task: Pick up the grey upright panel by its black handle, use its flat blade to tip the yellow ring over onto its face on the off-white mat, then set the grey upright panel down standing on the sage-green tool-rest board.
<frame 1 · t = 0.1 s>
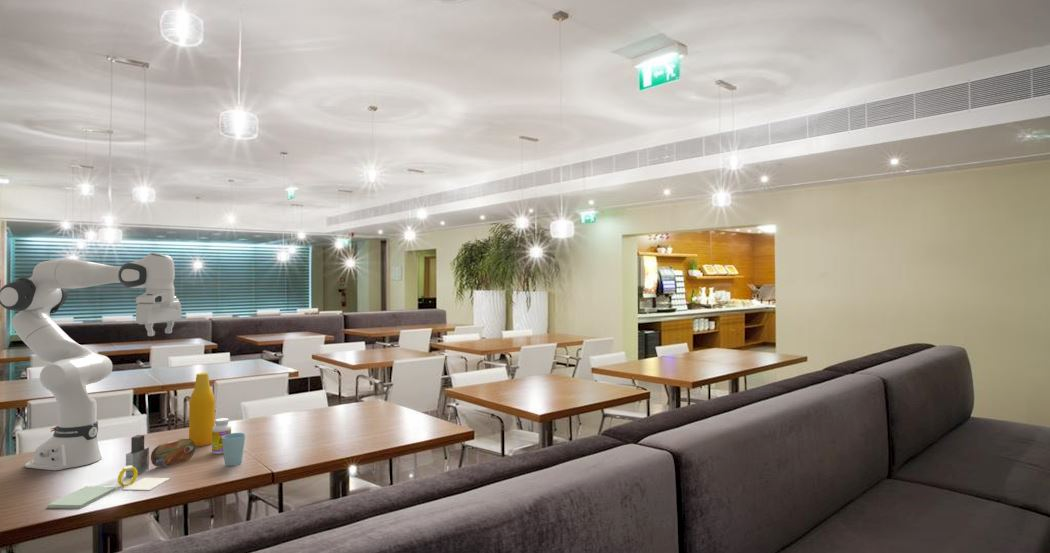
hand: (160, 334, 202), 48 cm above the table, tool pointing down, fingers open, 8 cm apart
tin: (173, 464, 202), on the table
yellow bottle: (201, 443, 226), on the table
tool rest: (83, 498, 170), on the table
grey upright panel: (137, 473, 192), on the table
supplement bottle: (221, 452, 216), on the table
cup: (233, 464, 203), on the table
face down mat: (146, 484, 182), on the table
yellow ring: (127, 484, 182), on the table
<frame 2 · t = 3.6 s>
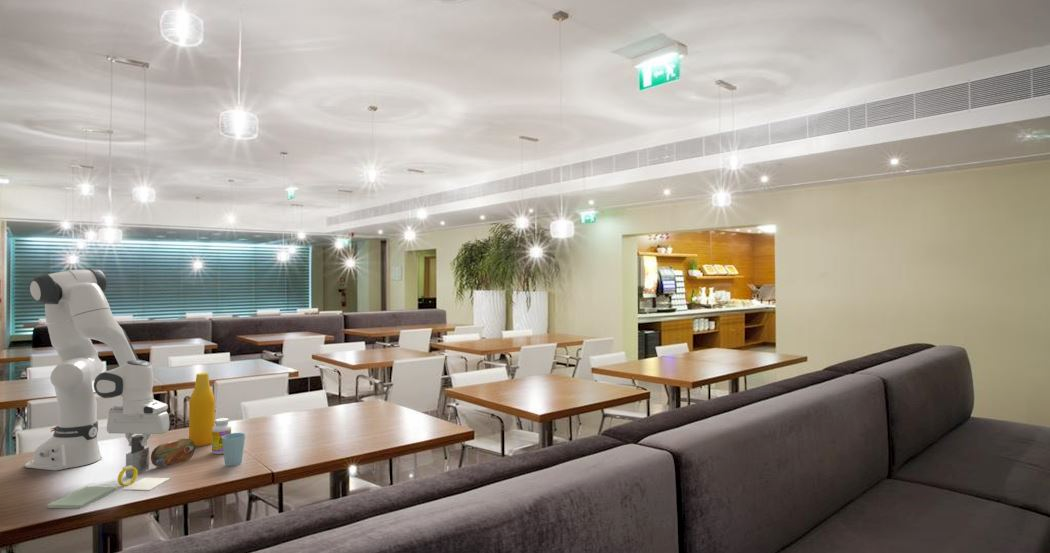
hand: (137, 445, 192), 10 cm above the table, tool pointing down, fingers closed on grey upright panel, 2 cm apart
grey upright panel: (137, 473, 192), on the table, touching gripper
everything else where it was.
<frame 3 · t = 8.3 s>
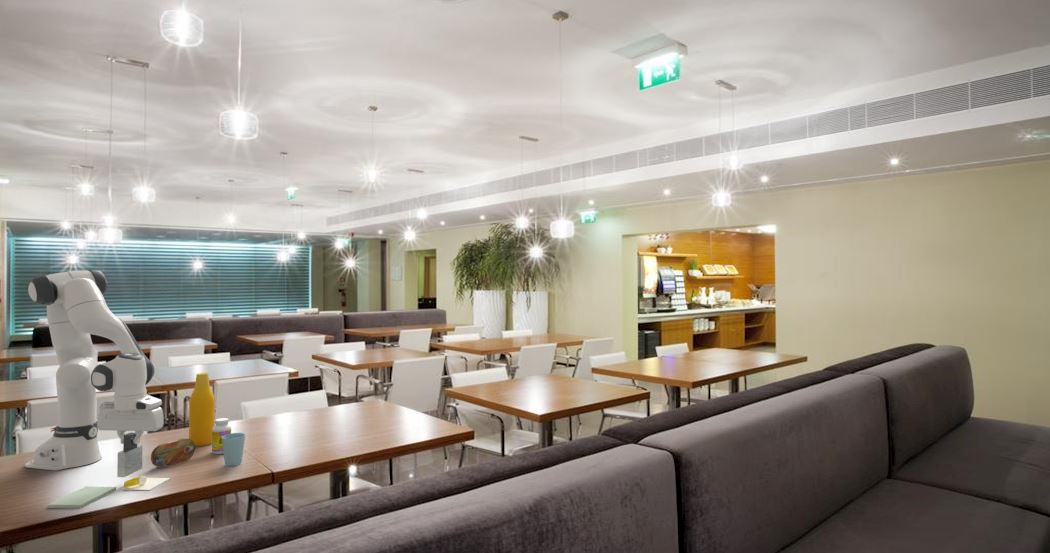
hand: (130, 443, 182), 14 cm above the table, tool pointing down, fingers closed on grey upright panel, 2 cm apart
grey upright panel: (130, 472, 182), point 4 cm above the table, touching gripper
yellow ring: (128, 482, 182), point 1 cm above the table, touching face down mat
everything else where it was.
when the fingers open (12 cm above the table, at t = 13.6 s): grey upright panel stays where it is, resting on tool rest.
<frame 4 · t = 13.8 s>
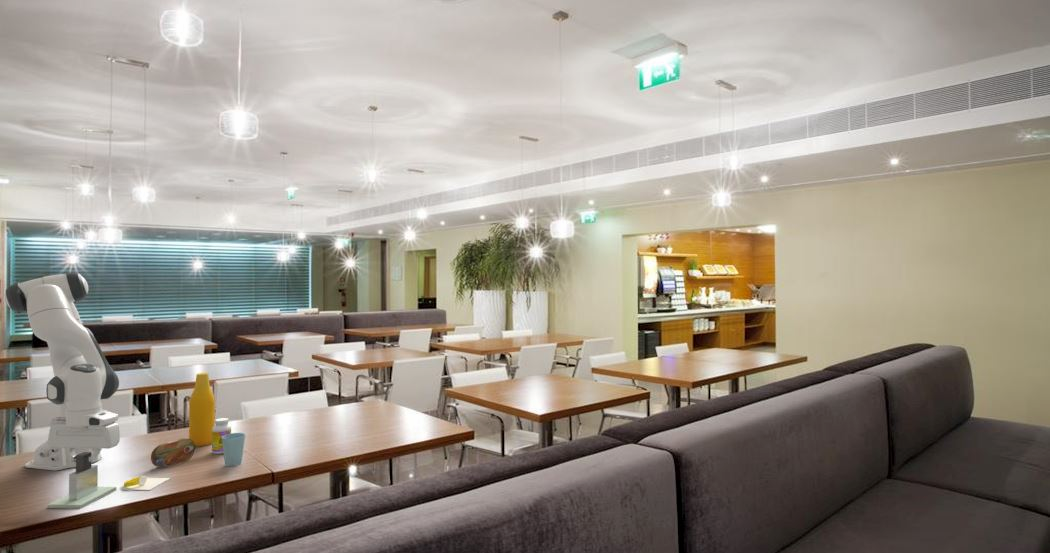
hand: (83, 461, 170), 12 cm above the table, tool pointing down, fingers open, 5 cm apart
grey upright panel: (83, 495, 170), point 1 cm above the table, touching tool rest
everything else where it was.
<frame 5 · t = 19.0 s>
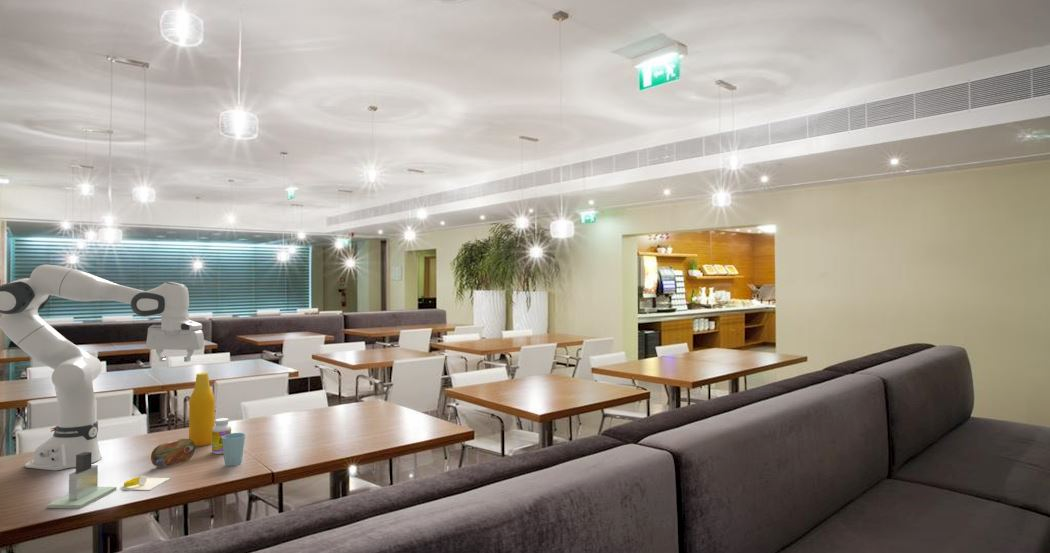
hand: (174, 361, 207), 37 cm above the table, tool pointing down, fingers open, 8 cm apart
nothing on the table moved.
at the end: yellow ring tilted 79°; yellow ring inside the target area (4.1 cm from its centre), point 0.7 cm above the table; grey upright panel inside the target area (0.1 cm from its centre), point 1.0 cm above the table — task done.
